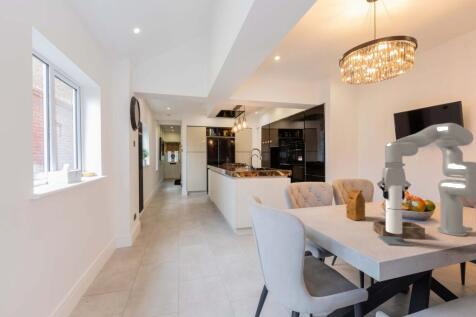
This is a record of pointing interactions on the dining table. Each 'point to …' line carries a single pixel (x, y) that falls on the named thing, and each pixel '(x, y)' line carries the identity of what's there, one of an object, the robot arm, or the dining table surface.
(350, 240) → the dining table surface
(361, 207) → the coffee package
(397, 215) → the cylindrical container
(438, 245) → the dining table surface
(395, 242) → the slate coaster
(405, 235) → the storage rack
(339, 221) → the dining table surface
